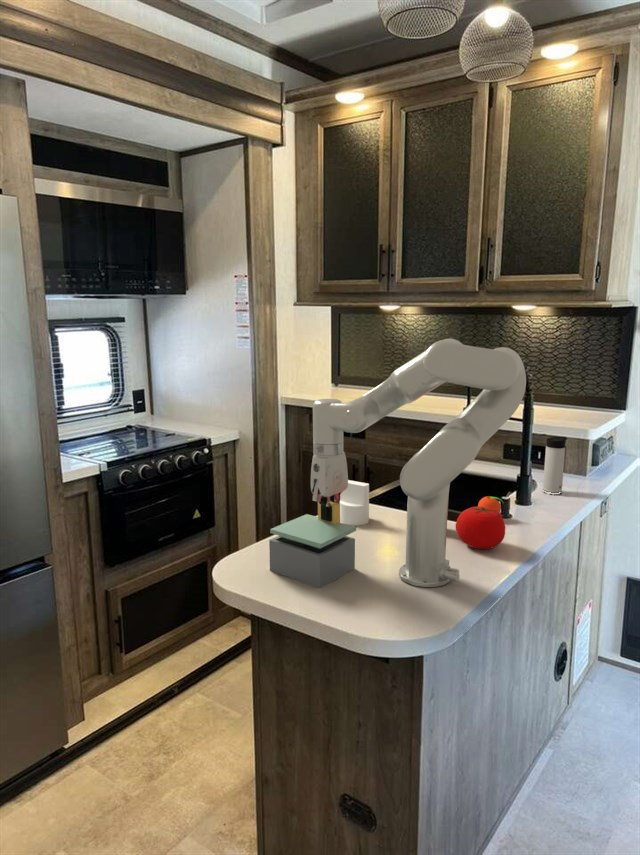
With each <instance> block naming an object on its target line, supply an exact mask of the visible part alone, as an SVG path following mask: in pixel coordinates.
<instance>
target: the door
mask: <svg viewBox="0 0 640 855" xmlns="http://www.w3.org/2000/svg"><path fill="white" fill-rule="evenodd" d="M330 506H332V521H331V522H329V521H325V520H322V519H321V505H319V502H317V516H315V515H312V514H308V513H306V514H304V515H301V516H299V517H297V518H294V519H291V520H289V521H286V522H284V523H281V524H279V525H277V526H274V527H273V528H270V532H269V533H270V534H272V535H276V536H279V537H283V538H286V539H290V540H293V541H296V542H300V543H303V544H306V545H310V546H313V547H316V548H322V547H324V546H326V545H328V544H330V543H332V542H335V541H337V540H339V539H341V538H343V537H345V536H349V535H351V534H352V533H355V532H357V526H356V525H347V524H343V523H341V522H340V502H338V503H335V502H330Z"/></svg>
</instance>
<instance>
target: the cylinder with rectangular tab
mask: <svg viewBox="0 0 640 855" xmlns="http://www.w3.org/2000/svg"><path fill="white" fill-rule="evenodd" d="M339 504H340V523H343V524H347V525H351V526H362V525H366V524H368V523H369V520H370V483H368V482H367V483H366V482H361V481H355V480H350V479H348V487H347V489H346V490H344V491H343V492H342V493H341V494H340V496H339Z"/></svg>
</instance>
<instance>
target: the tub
mask: <svg viewBox="0 0 640 855" xmlns="http://www.w3.org/2000/svg"><path fill="white" fill-rule="evenodd" d="M268 541H269V544H268V545H269V546H268V547H269V571H272V573H273V572H274V573H276V574H279V575H282V576H284V577H287V578H290V579H293V580H295V581H299V582H301V583H304V584H307V585H309V586H312V587H315V588H317V589H318V588H319V589H321V588H323V587H325V586H326V585H328V584H331V583H332V582H334V581H336V580H337V579H339V578H341V577H342V576H345V575H347V574H348V573H350V572H352V571H354V570H355V569H356V567H355V563H356V538H354V537H351V536H349V535H347V536H345V537H343V538H341V539H339V540H337V541H335V542H332V543H330V544H328V545H326V546H324V547H322V548H316V547H313V546H310V545H306V544H303V543H300V542H296V541H293V540H290V539H286V538H283V537H279V535H277V536H276V537H273V538H271V539H269V540H268Z"/></svg>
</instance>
